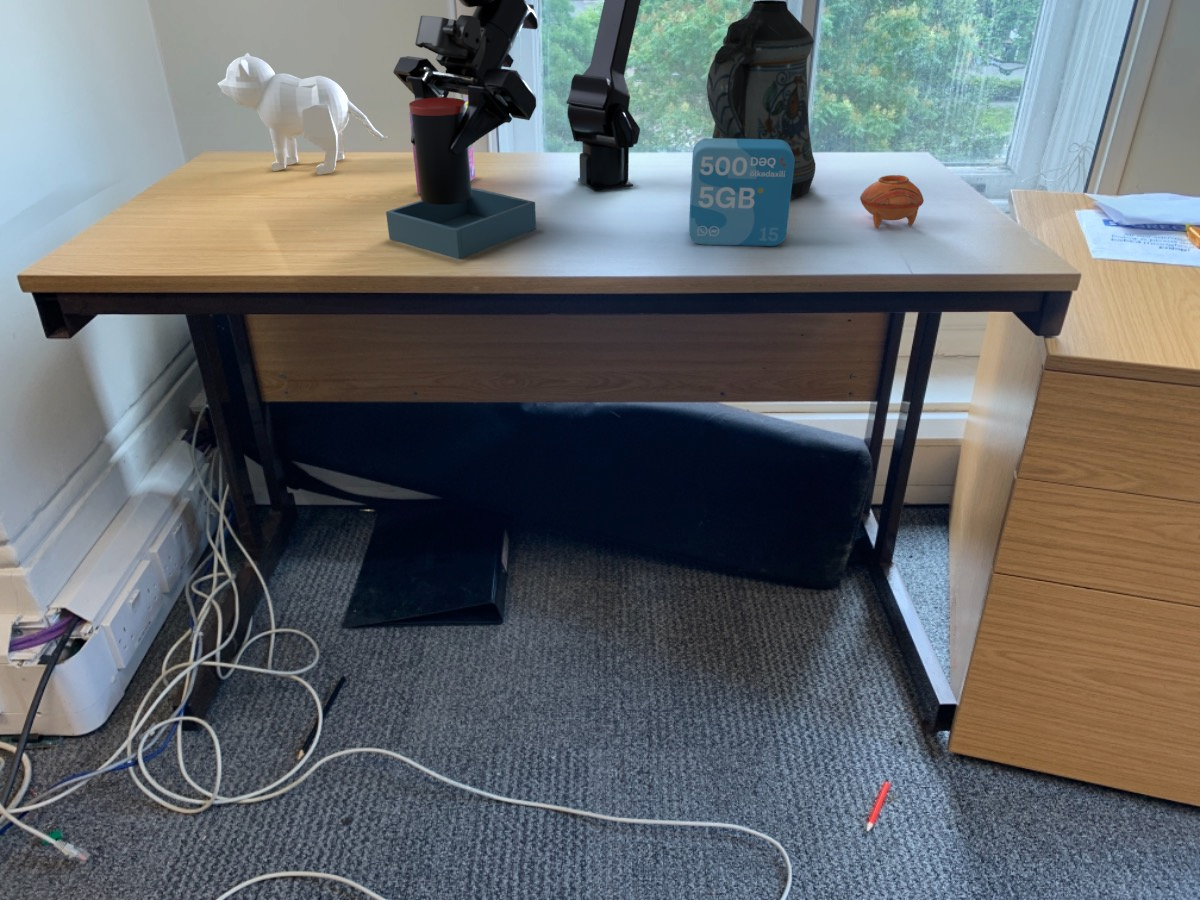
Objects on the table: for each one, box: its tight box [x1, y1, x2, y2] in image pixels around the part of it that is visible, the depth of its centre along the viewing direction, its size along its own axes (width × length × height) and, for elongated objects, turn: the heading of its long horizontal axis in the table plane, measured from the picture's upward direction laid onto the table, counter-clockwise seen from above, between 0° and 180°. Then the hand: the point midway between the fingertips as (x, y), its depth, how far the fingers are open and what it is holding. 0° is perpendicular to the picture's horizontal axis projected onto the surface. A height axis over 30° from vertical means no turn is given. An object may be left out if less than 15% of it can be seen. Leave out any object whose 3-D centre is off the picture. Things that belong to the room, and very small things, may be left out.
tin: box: [408, 96, 472, 205], centre depth 105 cm, size 6×6×11 cm
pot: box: [859, 174, 925, 229], centre depth 116 cm, size 8×8×7 cm
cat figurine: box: [217, 52, 389, 176], centre depth 138 cm, size 25×10×17 cm, turn 96°
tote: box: [385, 186, 537, 260], centre depth 112 cm, size 14×12×4 cm
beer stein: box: [706, 0, 816, 201], centre depth 125 cm, size 16×19×25 cm
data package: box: [688, 137, 795, 247], centre depth 109 cm, size 12×4×12 cm, turn 85°
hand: (433, 148), depth 104 cm, fingers closed on tin, 6 cm apart
